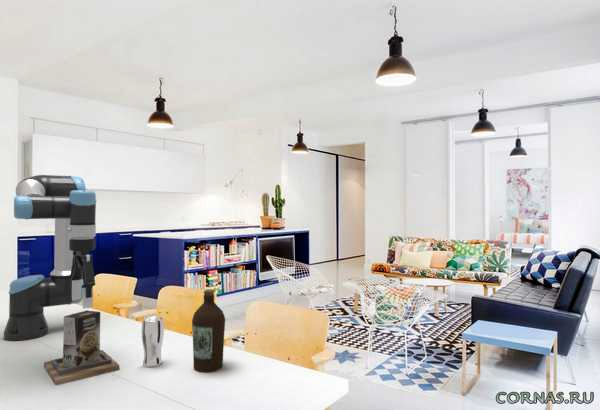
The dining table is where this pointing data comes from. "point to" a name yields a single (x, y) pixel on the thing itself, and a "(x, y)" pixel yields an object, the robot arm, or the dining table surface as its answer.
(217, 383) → the dining table surface
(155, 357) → the beer glass
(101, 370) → the pocket board
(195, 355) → the olive oil
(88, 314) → the coffee box
